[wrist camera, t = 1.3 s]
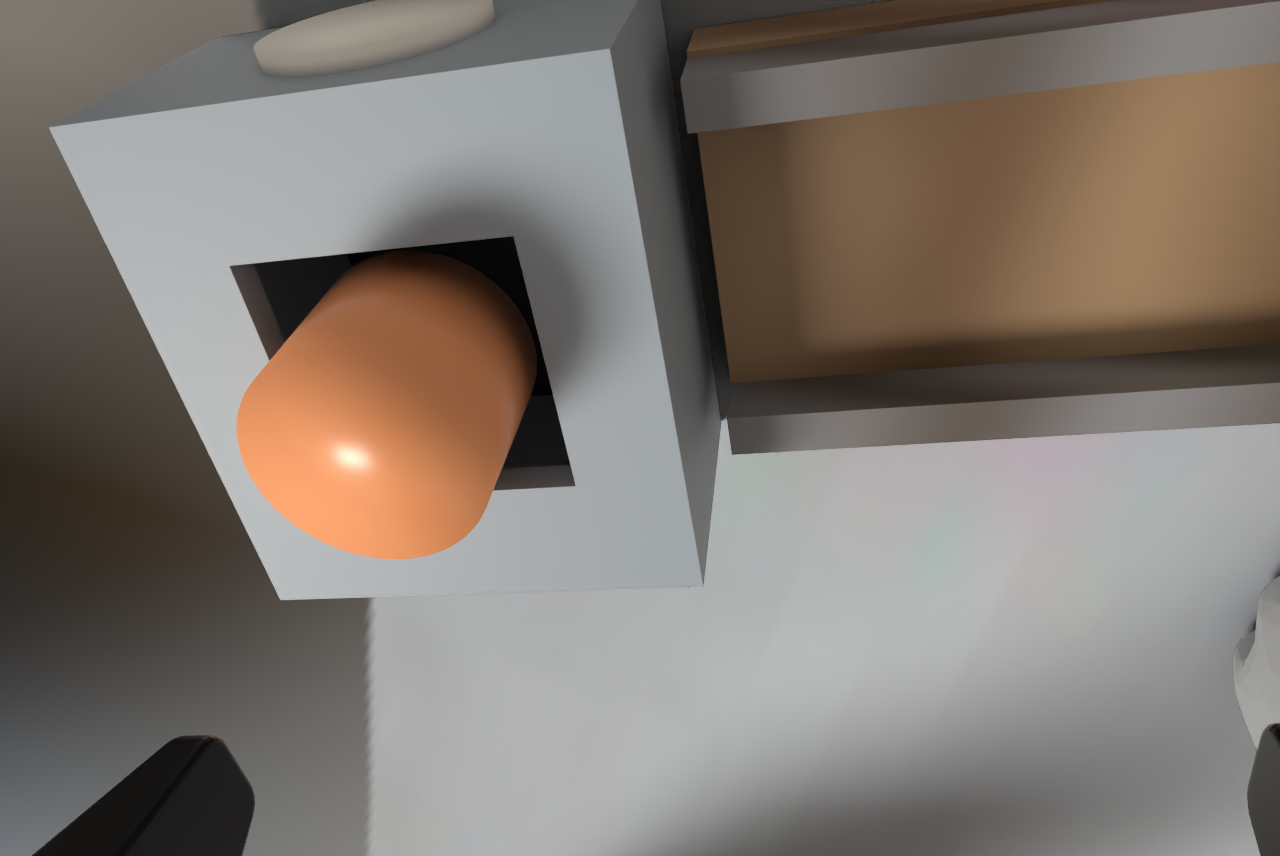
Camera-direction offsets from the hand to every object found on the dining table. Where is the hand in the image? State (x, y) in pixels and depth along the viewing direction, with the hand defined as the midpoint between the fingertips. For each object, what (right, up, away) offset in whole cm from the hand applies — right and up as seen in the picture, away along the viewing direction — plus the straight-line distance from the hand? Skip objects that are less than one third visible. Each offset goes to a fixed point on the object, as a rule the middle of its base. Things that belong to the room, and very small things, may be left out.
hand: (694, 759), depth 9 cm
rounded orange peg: (-4, +4, +8) cm, 9 cm away
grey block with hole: (-3, +6, +11) cm, 13 cm away
